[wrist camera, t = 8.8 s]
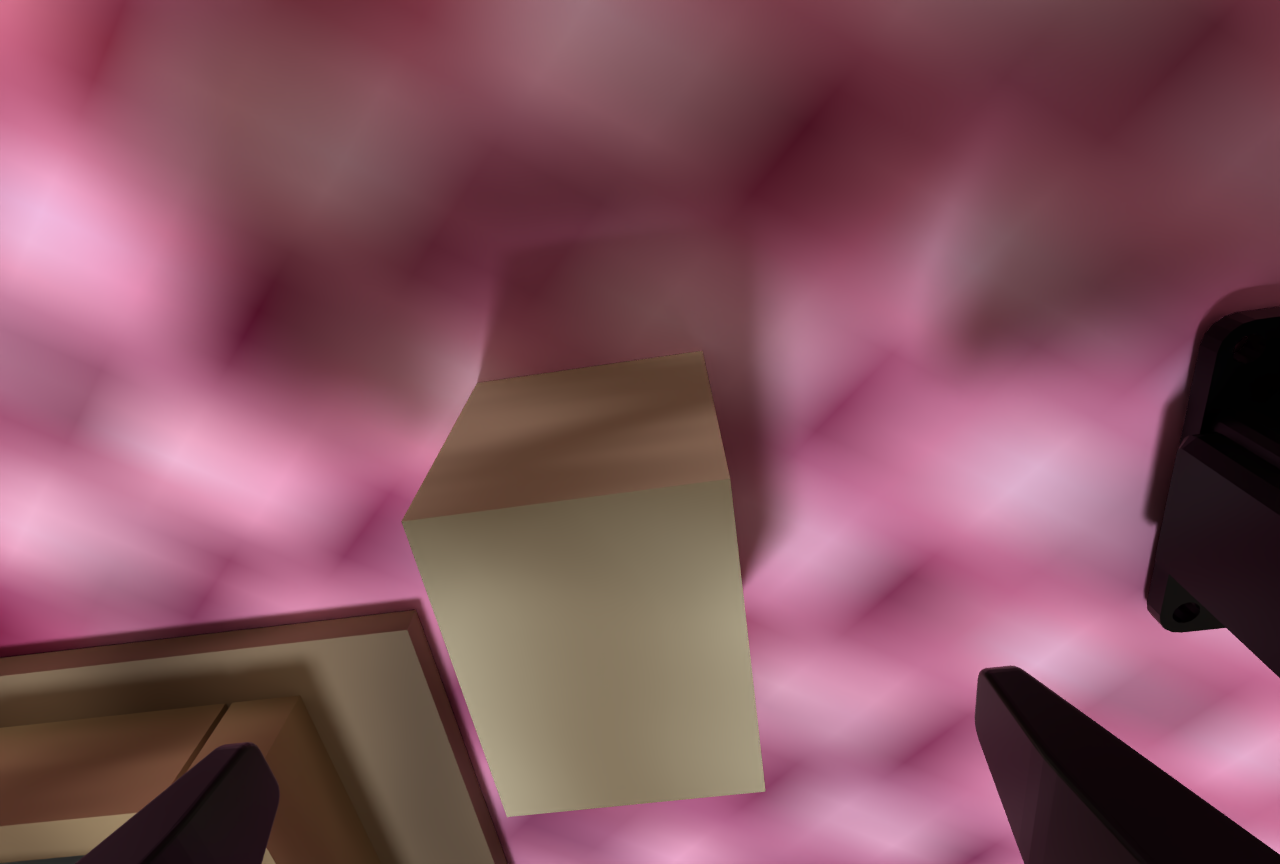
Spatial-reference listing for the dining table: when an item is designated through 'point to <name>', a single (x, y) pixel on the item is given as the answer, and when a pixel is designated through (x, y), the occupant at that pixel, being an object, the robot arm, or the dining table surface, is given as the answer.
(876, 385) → the dining table surface
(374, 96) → the dining table surface
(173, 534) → the dining table surface
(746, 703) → the tan rectangular block
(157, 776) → the tray
